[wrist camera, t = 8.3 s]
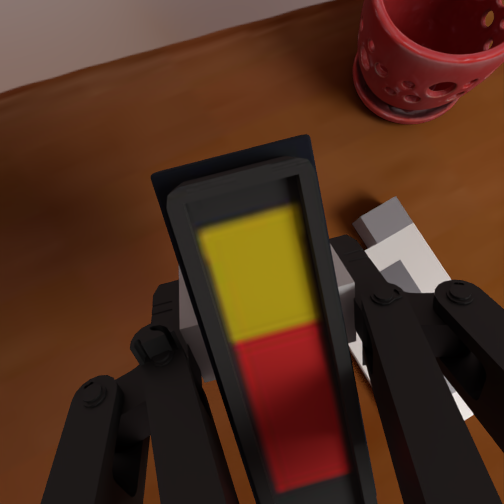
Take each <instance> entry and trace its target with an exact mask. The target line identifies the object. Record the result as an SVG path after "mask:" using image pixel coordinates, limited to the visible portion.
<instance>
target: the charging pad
mask: <svg viewBox="0 0 504 504" xmlns="http://www.w3.org/2000/svg"><path fill="white" fill-rule="evenodd" d="M352 224H353V226H354V228H355V229H356V231H357V232H358V234H359V235H360V237H361V239H362V240H363V242H364V243H365V245H366V246H367V248H368V249H366V250H365V252H366V254H367V255H368V257H369V258H370V259H371V261H372V262H373V263H374V265H375V266H376V267H377V269H378V270H379V271H380V273H381V274H382V275H383V277H384V278H385V279H386V281H387V282H388V283H392V284H395V285H397V286H398V287H400V288H402V290H403V291H404V292H409V293H434V292H435V289H436V287H437V286H438V284H440V283H442V282H444V281H449V280H451V279H450V277H449V276H448V274H447V273H446V271H445V270H444V268H443V267H442V265H441V264H440V262H439V261H438V259H437V258H436V256H435V255H434V253H433V252H432V250H431V249H430V247H429V246H428V244H427V243H426V241H425V240H424V238H423V237H422V235H421V234H420V232H419V231H418V229H417V227H416V226H415V224H414V223H413V222H412V220H411V219H410V217H409V215H408V214H407V212H406V211H405V209H404V208H403V206H402V205H401V203H400V202H399V200H398V199H397V197H396V196H395V197H394V198H392V199H390V200H388V201H387V202H385V203H383V204H381V205H380V206H378V207H376V208H375V209H373V210H371V211H369V212H368V213H366V214H364V215H362V216H361V217H359V218H358V219H357V220H356V221H355V222H354V223H352ZM348 344H349V349H350V352H351V353H352V355H353V356H354V358H355V360H356V361H357V363H358V365H359V366H360V368H361V370H362V371H363V373H364V375H365V376H366V378H367V380H368V381H369V383H370V385H371V382H370V378H369V374H368V371H367V367H366V365H364V366H363V365H362V341H361V339H360V337H359V335H358V334H357V332H356V341H355V342H351V343H348ZM443 376H444V375H443ZM444 378H445V376H444ZM445 380H446V382H447V384H448V387H449V389H450V391H451V393H452V395H453V397H454V400H455V402H456V404H457V406H458V408H459V411H460V413H461V415H462V417H463V419H464V420H466V419H467V418H469V417H470V416H472V415H474V414H473V412H472V411H471V410H470V409H469V407H468V406H467V405H466V403H465V402H464V401H463V400H462V398H461V397H460V396H459V394H458V393H457V392H456V391H455V389H454V388H453V387H452V385H451V384H450V383H449V381H448V380H447V379H446V378H445ZM371 386H372V385H371Z"/></svg>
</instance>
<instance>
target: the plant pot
mask: <svg viewBox="0 0 504 504" xmlns="http://www.w3.org/2000/svg"><path fill="white" fill-rule="evenodd" d="M489 11H493V13H494V20H493V22H492V24H491V25H490V26H489V27H487V26H486V25H485V17H486V15H487V14H488V12H489ZM492 41H493V44H492V46H491V48H490V49H488V47H489V45H490V43H491V42H492ZM503 62H504V6H503V5H502V1H501V0H364V3H363V7H362V12H361V17H360V25H359V32H358V51H357V54H356V56H355V59H354V64H353V81H354V85H355V88H356V91H357V93H358V95H359V97H360V99H361V100H362V102H363V103H364V104H365V105H366V106H367V107H368V109H370V110H371V111H372V112H373V113H375V114H376V115H378V116H380V117H382V118H383V119H385V120H388V121H391V122H395V123H399V124H419V123H424V122H427V121H431V120H433V119H435V118H437V117H439V116H441V115H442V114H444V113H445V112H447V111H448V110H449V109H450V108H451V107H452V106H453V105H454V104H455V103H456V102H457V101H458V99H459V98H460V97H461V96H462V95H464V94H466V93H467V92H469V91H470V90H472V89H473V88H474V87H475V86H477V85H478V84H479V83H481V82H482V81H483V80H485V79H486V78H487V77H488V76H489V75H490V74H491V73H492V72H494V71H495V70H496V69H497V68H498V67H499V66H500V65H501V64H502V63H503Z"/></svg>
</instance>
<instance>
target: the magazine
mask: <svg viewBox="0 0 504 504" xmlns="http://www.w3.org/2000/svg"><path fill="white" fill-rule="evenodd" d="M151 181H152V184H153V187H154V190H155V193H156V196H157V199H158V202H159V205H160V208H161V211H162V214H163V218H164V221H165V224H166V227H167V230H168V233H169V236H170V239H171V242H172V245H173V248H174V251H175V255H176V258H177V261H178V264H179V267H180V270H181V273H182V276H183V279H184V282H185V285H186V288H187V292H188V295H189V298H190V301H191V304H192V307H193V310H194V313H195V316H196V319H197V322H198V325H199V329H200V332H201V335H202V338H203V341H204V344H205V347H206V350H207V353H208V356H209V359H210V362H211V366H212V369H213V372H214V375H215V378H216V381H217V384H218V387H219V390H220V393H221V396H222V400H223V403H224V406H225V409H226V412H227V415H228V418H229V421H230V424H231V427H232V430H233V433H234V437H235V440H236V443H237V446H238V449H239V452H240V455H241V458H242V461H243V464H244V467H245V470H246V474H247V477H248V480H249V483H250V486H251V489H252V492H253V495H254V498H255V501H256V504H377V499H376V489H375V484H374V478H373V473H372V468H371V462H370V457H369V451H368V446H367V441H366V435H365V430H364V425H363V419H362V414H361V408H360V403H359V398H358V392H357V387H356V381H355V376H354V371H353V365H352V360H351V355H350V349H349V344H348V338H347V333H346V328H345V322H344V317H343V311H342V306H341V301H340V295H339V290H338V285H337V279H336V274H335V268H334V263H333V258H332V252H331V247H330V242H329V236H328V231H327V225H326V220H325V215H324V209H323V204H322V198H321V193H320V188H319V182H318V177H317V172H316V166H315V161H314V155H313V150H312V145H311V139H310V136H309V135H307V134H305V135H299V136H295V137H291V138H287V139H283V140H279V141H276V142H272V143H268V144H264V145H260V146H256V147H252V148H248V149H244V150H240V151H237V152H233V153H229V154H225V155H221V156H217V157H213V158H209V159H205V160H202V161H198V162H194V163H190V164H186V165H182V166H178V167H174V168H170V169H166V170H163V171H159V172H156V173H153V174H152V175H151Z"/></svg>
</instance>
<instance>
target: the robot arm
mask: <svg viewBox="0 0 504 504" xmlns="http://www.w3.org/2000/svg"><path fill="white" fill-rule="evenodd" d="M329 242H330V247H331V252H332V258H333V263H334V268H335V274H336V279H337V285H338V290H339V295H340V301H341V306H342V311H343V317H344V322H345V328H346V333H347V338H348V343H351V342H355V341H356V332H357V334H358V335H359V337H360V339H361V341H362V365H363V366H364V365H366V367H367V371H368V374H369V378H370V382H371V385H372V389H373V393H374V396H375V400H376V404H377V407H378V411H379V415H380V418H381V422H382V426H383V429H384V433H385V437H386V440H387V444H388V447H389V451H390V455H391V458H392V462H393V466H394V469H395V473H396V477H397V480H398V484H399V488H400V491H401V495H402V499H403V502H404V504H502V502H501V500H500V497H499V495H498V493H497V491H496V489H495V487H494V484H493V482H492V480H491V478H490V476H489V474H488V471H487V469H486V467H485V465H484V463H483V460H482V458H481V456H480V454H479V452H478V450H477V447H476V445H475V443H474V441H473V439H472V437H471V434H470V432H469V430H468V428H467V426H466V424H465V421H464V419H463V417H462V415H461V413H460V411H459V408H458V406H457V404H456V402H455V400H454V397H453V395H452V393H451V391H450V389H449V387H448V384H447V382H446V380H445V378H446V379H447V380H448V381H449V383H450V384H451V385H452V387H453V388H454V389H455V391H456V392H457V393H458V394H459V396H460V397H461V398H462V400H463V401H464V402H465V403H466V405H467V406H468V407H469V409H470V410H471V411H472V412H473V414H474V415H475V416H476V418H477V419H478V420H479V422H480V423H481V424H482V425H483V427H484V428H485V429H486V431H487V432H488V433H489V434H490V436H491V437H492V438H493V440H494V441H495V442H496V444H497V445H498V446H499V447H500V449H501V450H502V451H503V453H504V309H503V308H502V307H501V306H500V305H498V304H497V303H496V302H495V301H494V300H493V299H492V298H490V297H489V296H488V295H487V294H486V293H485V292H484V291H482V290H481V289H480V288H479V287H477V286H475V285H474V284H472V283H469V282H466V281H462V280H449V281H444V282H442V283H440V284H438V286H437V287H436V289H435V292H434V293H409V292H404V291H403V290H402V288H400V287H398V286H397V285H395V284H392V283H388V282H387V281H386V279H385V278H384V277H383V275H382V274H381V273H380V271H379V270H378V269H377V267H376V266H375V265H374V263H373V262H372V261H371V259H370V258H369V257H368V255H367V254H366V252H365V251H363V248H362V247H361V246H360V244H359V243H358V242H357V240H355V239H353V238H351V237H350V236H348V235H342V236H339V237H335V238H331V239H329ZM130 350H131V351H132V353H133V354H134V356H135V358H136V359H137V361H138V362H139V365H138V366H137V367H136V368H135V369H133V370H132V371H130V372H129V373H127V374H125V375H123V376H121V377H120V378H118V379H116V380H114V378H113V377H110V376H108V375H102V376H97V377H95V378H92V379H90V380H89V381H87V382H86V383H84V384H83V385H82V386H81V387H80V388H79V389H78V391H77V392H76V393H75V395H74V397H73V399H72V402H71V405H70V409H69V412H68V415H67V419H66V422H65V425H64V428H63V432H62V435H61V438H60V442H59V445H58V448H57V451H56V455H55V458H54V461H53V465H52V468H51V471H50V475H49V478H48V481H47V484H46V488H45V491H44V494H43V498H42V501H41V504H143V498H144V488H145V479H146V469H147V460H148V450H149V440H150V435H151V440H152V447H153V454H154V460H155V467H156V474H157V481H158V488H159V495H160V502H161V504H239V501H238V498H237V495H236V492H235V488H234V485H233V482H232V478H231V475H230V472H229V469H228V465H227V462H226V459H225V456H224V452H223V449H222V446H221V443H220V439H219V436H218V433H217V430H216V426H215V423H214V420H213V416H212V413H211V410H210V407H209V403H208V400H207V397H206V394H205V392H204V390H203V388H202V379H201V375H202V377H203V379H204V382H209V381H212V380H216V378H215V375H214V372H213V369H212V366H211V362H210V359H209V356H208V353H207V350H206V347H205V344H204V341H203V338H202V335H201V332H200V329H199V325H198V322H197V319H196V316H195V313H194V310H193V307H192V304H191V301H190V298H189V295H188V292H187V288H186V285H185V282H184V279H183V276H182V273H181V270H180V267H179V280H176V281H172V282H169V283H165V284H161V285H159V286H158V288H157V290H156V292H155V293H154V295H153V308H152V320H151V324H149V325H147V326H145V327H143V328H142V329H140V330H139V331H138V332H137V333H136V334H135V335H134V337H133V339H132V341H131V344H130ZM443 375H444V376H445V378H444V376H443Z"/></svg>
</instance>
